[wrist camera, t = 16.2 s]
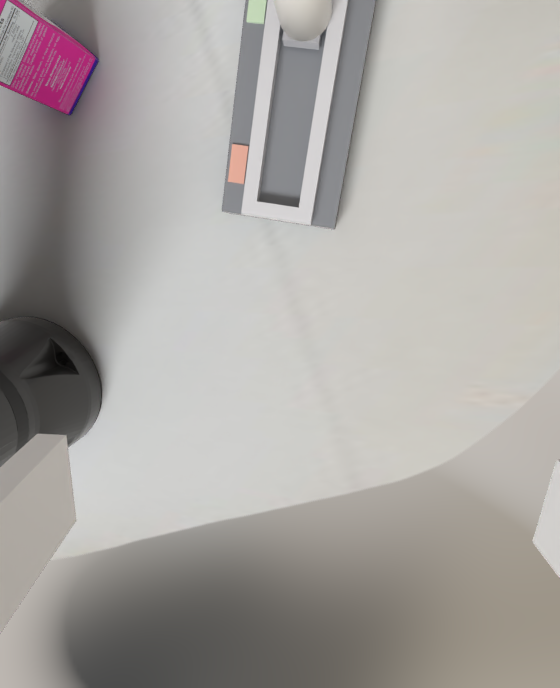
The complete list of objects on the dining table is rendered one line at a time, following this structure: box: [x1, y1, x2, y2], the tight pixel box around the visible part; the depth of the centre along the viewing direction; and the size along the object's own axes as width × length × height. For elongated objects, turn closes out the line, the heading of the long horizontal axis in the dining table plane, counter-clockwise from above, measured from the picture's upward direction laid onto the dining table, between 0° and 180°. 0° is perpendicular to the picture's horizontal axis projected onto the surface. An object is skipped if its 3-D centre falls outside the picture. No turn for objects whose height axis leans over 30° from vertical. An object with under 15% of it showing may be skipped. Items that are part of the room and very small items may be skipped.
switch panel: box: [222, 0, 376, 229], centre depth 34 cm, size 20×10×3 cm, turn 171°
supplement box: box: [0, 0, 99, 115], centre depth 32 cm, size 6×6×12 cm
